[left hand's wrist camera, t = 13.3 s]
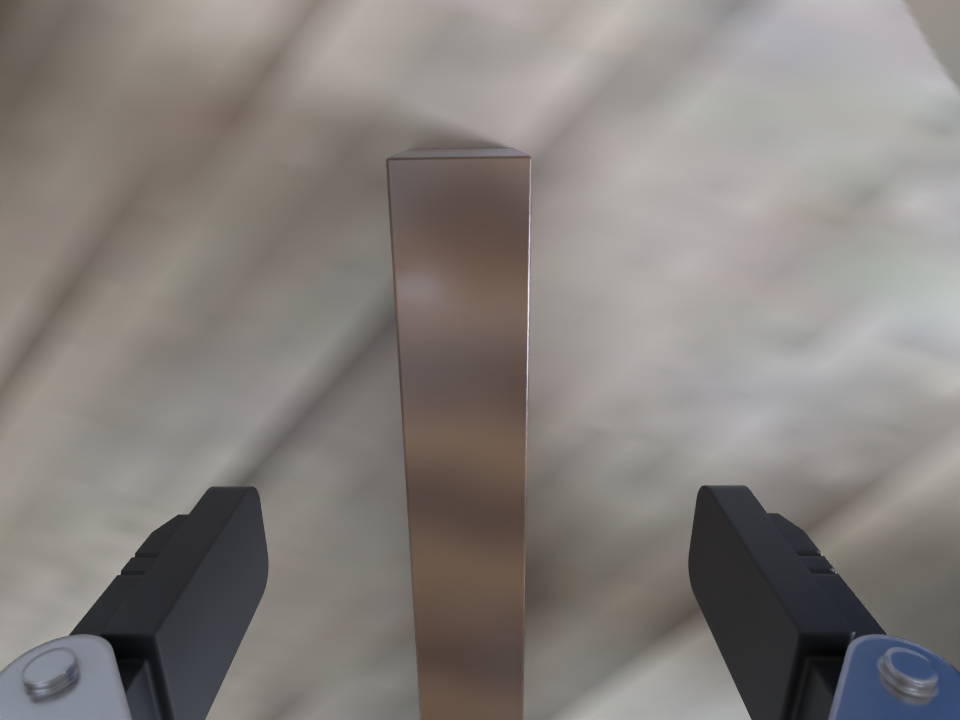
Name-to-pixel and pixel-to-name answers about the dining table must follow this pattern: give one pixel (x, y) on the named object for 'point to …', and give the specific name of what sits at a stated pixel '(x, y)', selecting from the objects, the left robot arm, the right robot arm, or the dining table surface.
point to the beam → (464, 418)
